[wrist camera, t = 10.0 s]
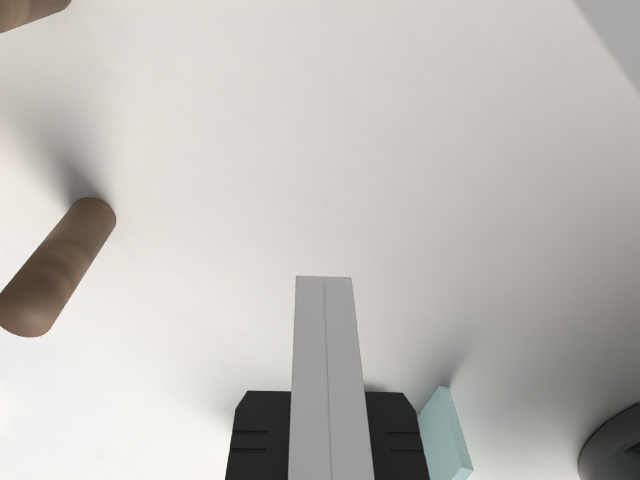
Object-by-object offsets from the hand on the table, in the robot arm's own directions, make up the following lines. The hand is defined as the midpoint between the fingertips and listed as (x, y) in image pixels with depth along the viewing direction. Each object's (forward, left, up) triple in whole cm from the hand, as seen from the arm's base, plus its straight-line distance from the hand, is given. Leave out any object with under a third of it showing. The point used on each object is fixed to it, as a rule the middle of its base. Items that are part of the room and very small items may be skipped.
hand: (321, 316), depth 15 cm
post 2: (+13, +6, -16) cm, 21 cm away
